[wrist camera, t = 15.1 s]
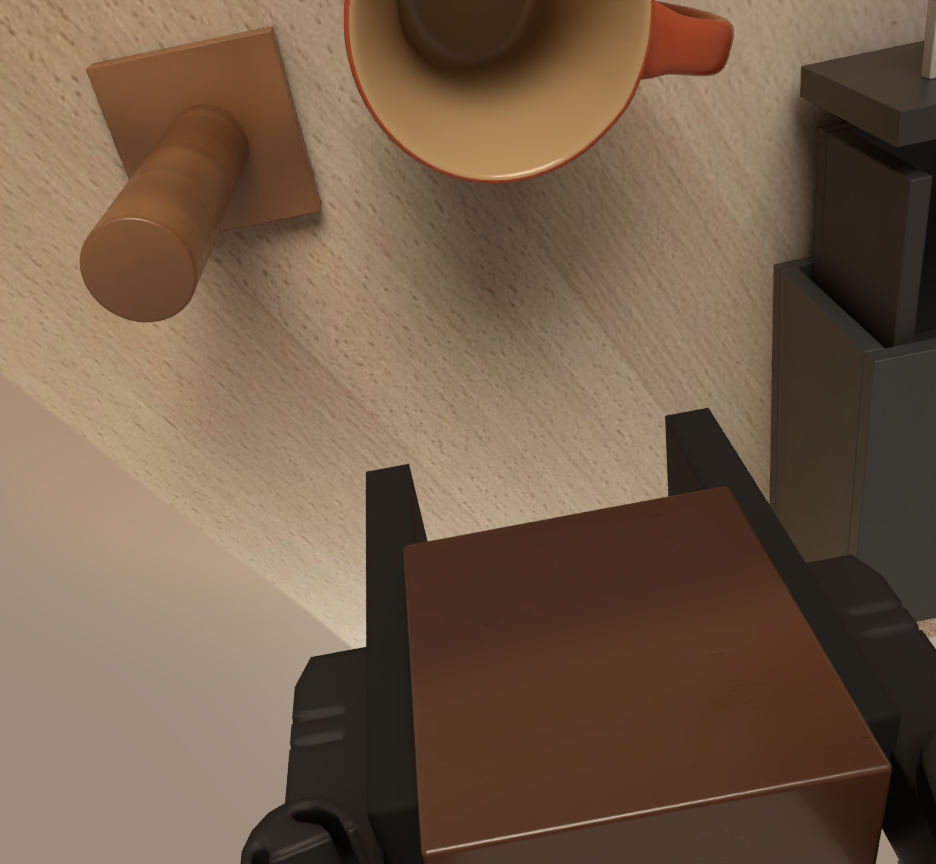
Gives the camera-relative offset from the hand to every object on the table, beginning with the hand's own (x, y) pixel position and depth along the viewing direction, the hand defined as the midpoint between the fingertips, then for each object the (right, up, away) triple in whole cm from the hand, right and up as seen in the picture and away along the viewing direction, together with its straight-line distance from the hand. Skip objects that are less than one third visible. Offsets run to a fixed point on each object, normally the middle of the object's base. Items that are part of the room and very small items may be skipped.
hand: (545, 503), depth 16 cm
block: (0, -2, -3) cm, 3 cm away
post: (-12, +13, +20) cm, 26 cm away
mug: (0, +18, +18) cm, 25 cm away
